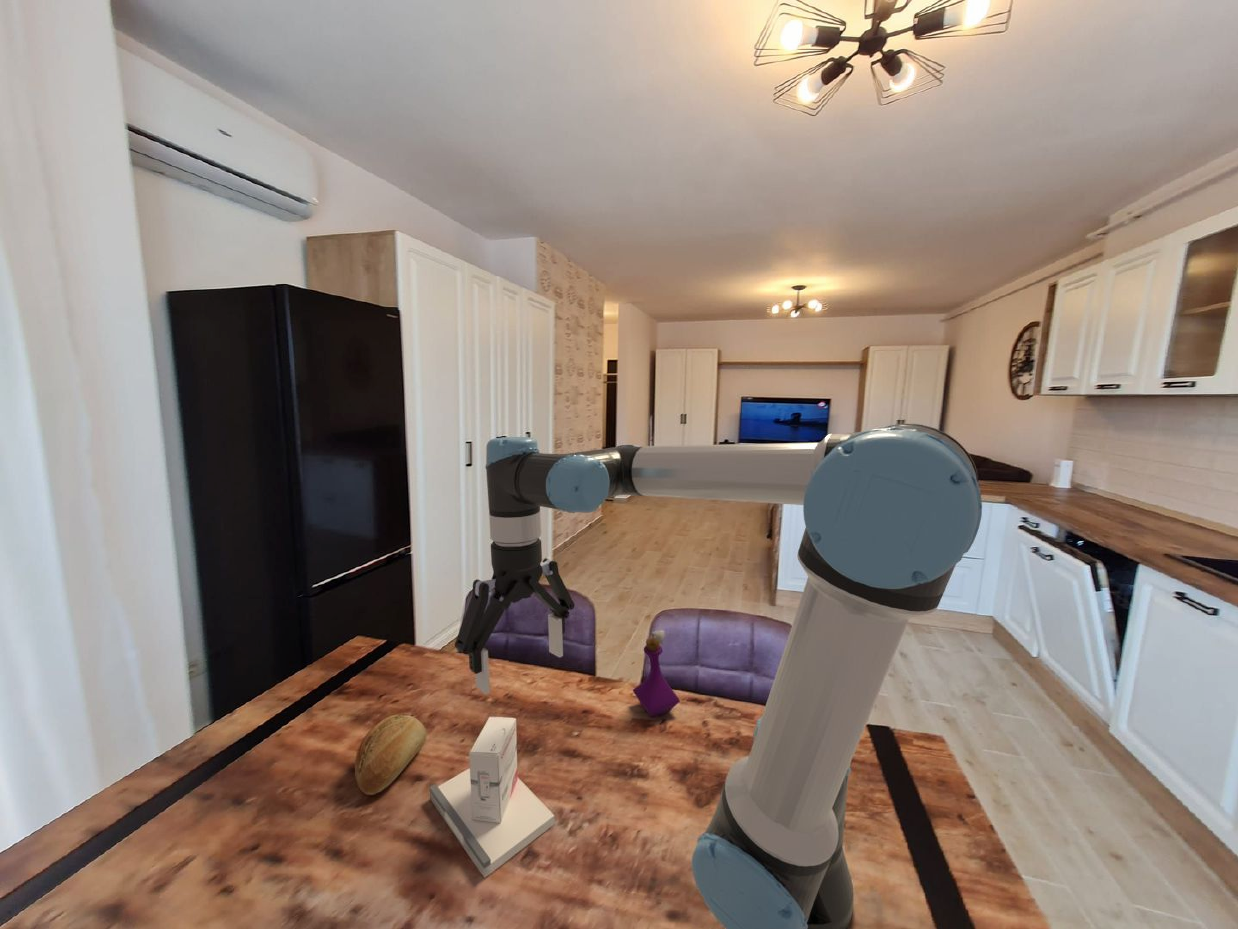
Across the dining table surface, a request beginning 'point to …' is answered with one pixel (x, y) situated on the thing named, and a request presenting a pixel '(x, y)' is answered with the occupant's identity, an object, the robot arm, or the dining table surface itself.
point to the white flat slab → (491, 839)
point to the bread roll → (387, 751)
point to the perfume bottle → (655, 681)
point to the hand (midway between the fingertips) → (521, 671)
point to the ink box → (493, 769)
